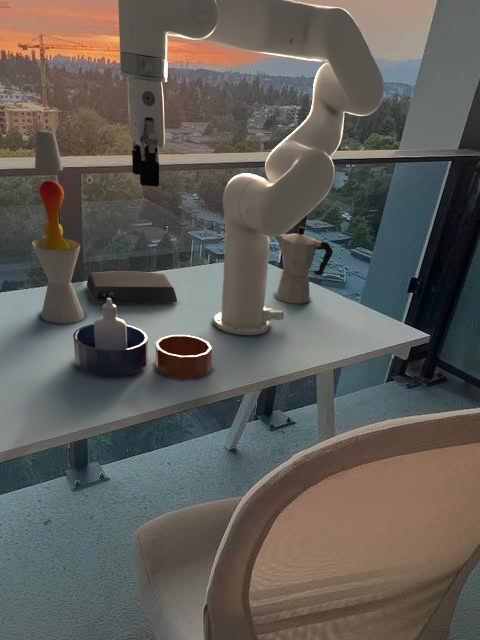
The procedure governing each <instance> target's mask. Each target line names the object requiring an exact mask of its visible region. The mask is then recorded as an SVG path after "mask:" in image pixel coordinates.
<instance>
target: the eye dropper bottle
mask: <svg viewBox="0 0 480 640" xmlns="http://www.w3.org/2000/svg"><path fill="white" fill-rule="evenodd" d="M101 309H102V316H101V317H100V316H99V317H98V318H96V319H95V320H94V323H93V324H94V334H95V348H97V349H106V350H121V349H127V328H126V325H127V323H126V321H125V320H124V319H122V318H119V317H118V311H117V310H118V309H117V305H116V304H115V303H112V300H111V298H107V302H106V303H103V304H102V307H101Z"/></svg>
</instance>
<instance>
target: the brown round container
mask: <svg viewBox="0 0 480 640" xmlns="http://www.w3.org/2000/svg"><path fill="white" fill-rule="evenodd" d="M154 346H155V367H156V370H157V372H159V373H161V374H163V375H164V376H166V377H169V378H174V379H179V380H193V379H195V380H196V379H198V378H202V377H205V376H207V375H208V374H209V373H210V372H211V370H212V351H213V350H212V349H213V348H212V346H211V344H210V342H208V341H207V340H204V339H203V338H200V337H199V336H193V335H187V334H172V335H168V336H167V335H166V336H164V337H163V336H162V337H160V338H159V339H158V340H157V341H156V342H155V345H154Z"/></svg>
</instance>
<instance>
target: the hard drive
mask: <svg viewBox="0 0 480 640" xmlns="http://www.w3.org/2000/svg"><path fill="white" fill-rule="evenodd" d="M86 288H87V290H88V293H89V296H90V300H91V302H92V303H97V304H106V302H107V298H111V300H112V304H166V303H167V304H169V303H178V298H177V294H176V291H175V287H174V286H173V285H172V284H171V282H170V281H169V279H168V277H167V276H166V274H164V273H160V272H151V271H150V272H149V271H148V272H147V271H132V270H129V271H128V270H115V271H114V270H113V271H98V272H97V271H96V272H90V273H89V274H88V277H87V280H86Z"/></svg>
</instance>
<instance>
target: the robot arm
mask: <svg viewBox="0 0 480 640" xmlns="http://www.w3.org/2000/svg"><path fill="white" fill-rule="evenodd" d="M117 2H118V3H117V4H118V30H119V31H118V33H119V34H118V35H119V63H120V66H119V67H120V76H122V77H126V78H127V104H128V105H127V107H128V125H129V136H130V138H131V141H132V149H131V159H132V160H131V161H132V162H131V163H132V164H131V166H132V167H131V168H132V174H133V175H139V184H140V185H141V186H144V187H154V188H155V187H156V188H157V187H159V186H160V161H159V159H160V158H159V150H158V147H159V148H160V149H163V148H164V147H165V145H166V137H165V136H166V135H165V105H164V92H163V91H164V90H163V83H167V82H168V59H167V58H168V36H170V37H171V36H172V37H179V38H183V39H188V40H198V41H199V40H200V41H204V42H212V43H217V44H221V45H224V46H230V47H233V48H236V49H239V50H243V51H247V52H254V53H258V54H265V55H266V54H267V55H272V56H280V57H286V58H292V59H298V60H305V61H314V62H320V63H324V64H322V65H321V66H320V67H319V69H318V70H317V72H316V74H315V77H314V80H313V86H312V87H313V88H312V103H311V108H310V111H309V114H308V115H307V117H306V118H305V120H304V121H302V123H301V124H300V125H298V127H297V128H296V129H295V130H294V131H293V132H291V133H290V134H289V135H288V136H286V138H284V139H283V140H282V141H281V142H280V143H278V145H276V146H275V147H274V148H273V149H272V151H271V152H270V153H269V154H268V156H267V158H266V160H265V163H264V172H265V175H266V178H264V177H262V176H259V175H256V174H253V173H239V174H237V175H235V176H233V177H232V178H231V179H230V180H229V181H228V182H227V184H226V186H225V188H224V191H223V195H222V207H223V217H224V230H225V232H224V233H225V234H224V236H225V237H224V254H223V255H224V257H223V273H222V274H223V275H222V290H221V291H222V292H221V293H222V294H221V311H220V312H218V313H217V314H215V315H214V317H213V324H214V325H215V327H217V328H218V329H219V330H220V331H223V332H226V333H229V334H233V335H238V336H239V335H240V336H256V335H261V334H264V333H266V332H267V331H268V330H269V328H270V321H271V320H279V321H280V320H283V319H284V317H285V312H284V311H283V310H276V309H275V308H274V307H273V308H272V307H271V308H270V307H269V308H267V307H266V306H265V299H266V291H267V290H266V288H267V279H268V268H269V260H270V246H271V245H270V237H274V238H275V236H280V235H282V234H287V233H288V232H289V231H290V230H292V229H293V228H294V227H296V225H297V224H299V223H300V222H301V221H302V220H303V219H304V218H305V217H306V216H307V215H309V213H311V212H312V211H313V210H314V209H315V208H316V207H317V206H318V205H319V204H320V203H321V202H322V201H323V200H325V198H326V197H327V195H328V194H329V192H330V191H331V189H332V187H333V184H334V181H335V174H336V173H335V170H336V169H335V165H334V162H333V160H332V158H331V157H332V156H333V155H334V154H335V152H336V151H337V150H338V148H339V147H340V145H341V141H342V138H343V133H344V132H343V131H344V124H345V123H344V122H345V121H344V120H345V113H347V114H350V115H354V116H360V117H365V116H366V117H367V116H369V115H372V114H373V113H375V112H376V111H377V110H378V109H379V107H380V105H381V104H382V101H383V99H384V94H385V82H384V78H383V74H382V71H381V69H380V67H379V65H378V63H377V61H376V59H375V57H374V54H373V53H372V49H370V48H371V47H370V46H369V44H368V42H367V40H366V37H365V36H364V34H363V32H362V30H361V29H360V27H359V25H358V23H357V22H356V20H355V18H354V17H353V16H352V15H351V14H350V13H349V12H348V11H347V10H346V9H344V8H342V7H339V6H327V5H319V4H318V5H317V4H313V3H312V4H311V3H306V2H302V1H296V0H117Z"/></svg>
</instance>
